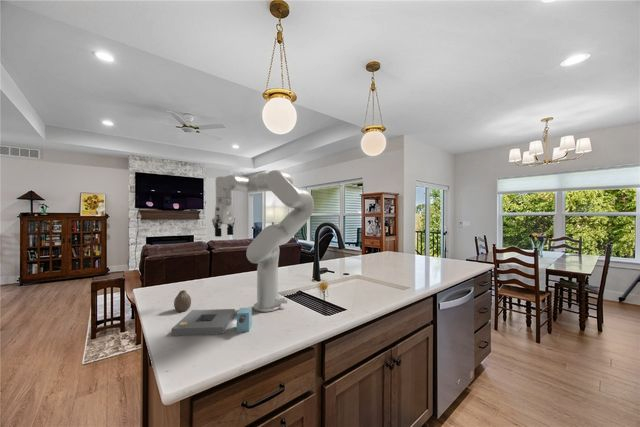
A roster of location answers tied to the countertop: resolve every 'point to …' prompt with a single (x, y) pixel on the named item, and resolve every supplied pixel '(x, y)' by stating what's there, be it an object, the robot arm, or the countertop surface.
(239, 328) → the plug
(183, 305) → the brown egg-shaped lump
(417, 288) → the countertop surface
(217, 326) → the socket plate
